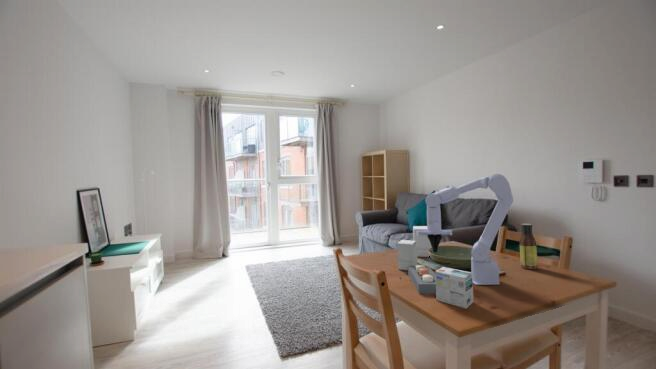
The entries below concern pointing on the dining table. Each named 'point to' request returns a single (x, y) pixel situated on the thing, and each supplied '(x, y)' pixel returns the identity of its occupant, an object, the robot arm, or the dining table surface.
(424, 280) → the plug cream
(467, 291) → the light bulb box
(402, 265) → the supplement box
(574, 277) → the dining table surface
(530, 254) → the sauce bottle
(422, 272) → the plug rust
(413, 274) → the socket board
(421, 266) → the plug sage
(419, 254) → the supplement box
